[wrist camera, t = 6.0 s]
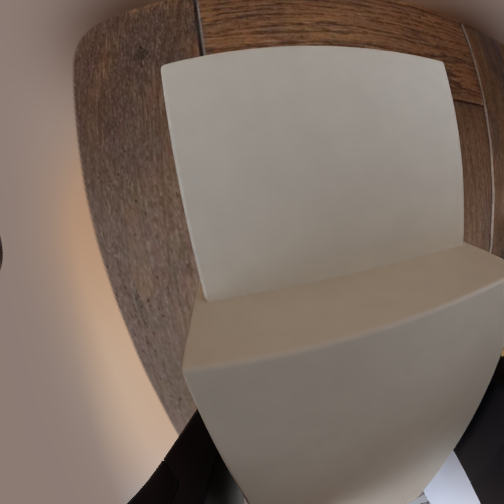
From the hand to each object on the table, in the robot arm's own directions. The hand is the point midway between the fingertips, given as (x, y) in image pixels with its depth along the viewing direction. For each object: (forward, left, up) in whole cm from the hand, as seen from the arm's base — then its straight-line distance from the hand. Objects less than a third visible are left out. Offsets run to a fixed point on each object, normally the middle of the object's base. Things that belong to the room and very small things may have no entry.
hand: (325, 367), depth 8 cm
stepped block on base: (0, +1, -1) cm, 1 cm away
